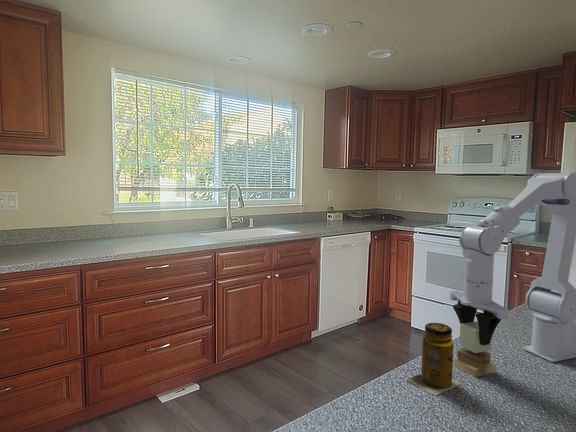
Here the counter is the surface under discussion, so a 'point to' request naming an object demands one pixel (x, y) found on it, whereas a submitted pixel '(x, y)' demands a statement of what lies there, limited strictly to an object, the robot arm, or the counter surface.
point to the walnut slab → (474, 357)
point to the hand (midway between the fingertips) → (475, 339)
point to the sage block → (472, 338)
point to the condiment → (436, 360)
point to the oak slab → (475, 368)
